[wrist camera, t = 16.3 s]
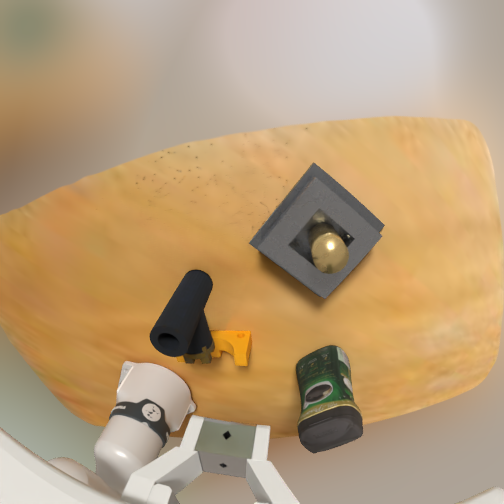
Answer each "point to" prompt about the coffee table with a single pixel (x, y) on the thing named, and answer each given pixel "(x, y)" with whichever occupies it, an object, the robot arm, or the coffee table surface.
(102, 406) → the coffee table surface
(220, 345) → the pipe clamp
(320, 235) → the tan cylinder
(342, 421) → the coffee jar
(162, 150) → the coffee table surface
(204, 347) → the pipe connector
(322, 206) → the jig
